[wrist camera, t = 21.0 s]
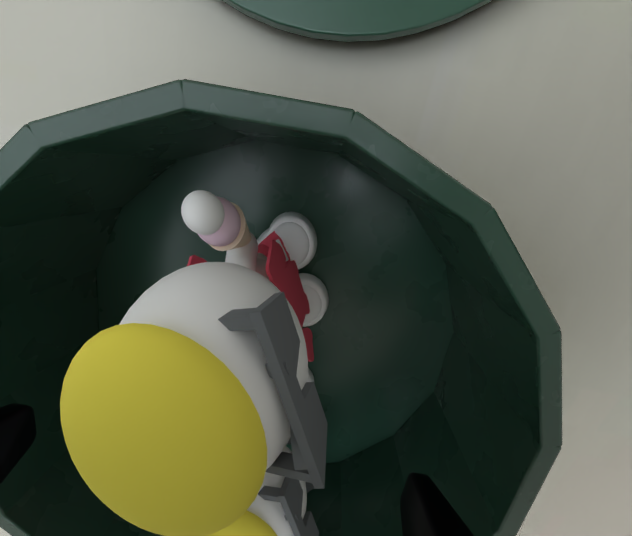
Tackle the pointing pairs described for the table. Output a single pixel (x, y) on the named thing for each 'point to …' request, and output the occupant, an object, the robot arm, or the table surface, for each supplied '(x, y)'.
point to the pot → (327, 265)
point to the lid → (355, 16)
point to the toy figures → (208, 388)
